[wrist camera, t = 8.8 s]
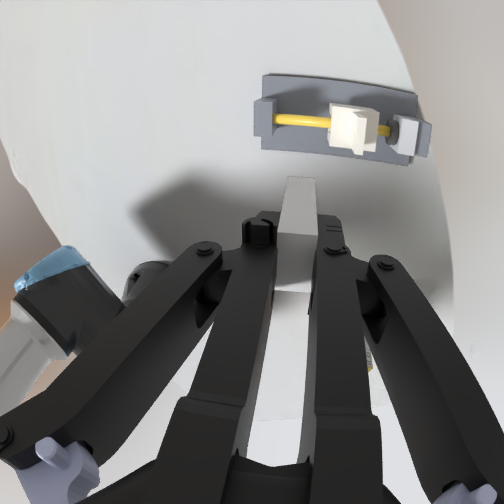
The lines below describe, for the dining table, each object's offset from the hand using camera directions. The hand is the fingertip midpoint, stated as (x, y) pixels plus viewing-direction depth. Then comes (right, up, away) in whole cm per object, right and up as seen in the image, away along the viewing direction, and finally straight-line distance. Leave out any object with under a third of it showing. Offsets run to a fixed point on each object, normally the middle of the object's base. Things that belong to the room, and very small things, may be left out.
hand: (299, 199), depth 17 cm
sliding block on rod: (+9, +14, +18) cm, 25 cm away
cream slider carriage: (+9, +12, +15) cm, 21 cm away
